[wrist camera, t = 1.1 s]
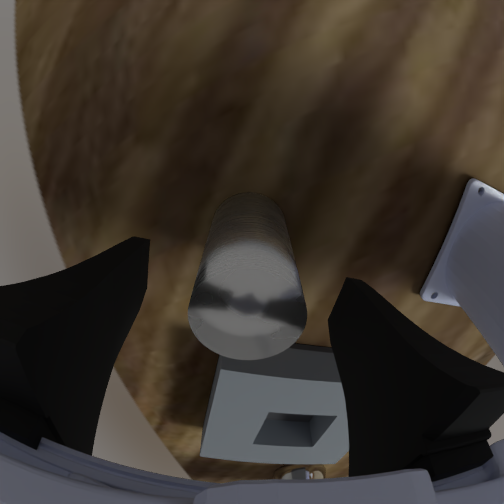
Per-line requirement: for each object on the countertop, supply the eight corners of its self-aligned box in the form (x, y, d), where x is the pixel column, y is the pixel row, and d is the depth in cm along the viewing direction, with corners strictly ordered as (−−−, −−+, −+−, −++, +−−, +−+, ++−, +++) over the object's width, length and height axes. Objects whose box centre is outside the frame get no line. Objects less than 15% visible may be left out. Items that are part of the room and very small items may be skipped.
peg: (293, 201, 15) (323, 281, 9) (275, 265, 17) (287, 366, 10) (219, 185, 15) (195, 257, 8) (207, 252, 16) (183, 349, 10)
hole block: (393, 353, 20) (407, 384, 17) (330, 437, 25) (335, 463, 23) (224, 332, 19) (220, 369, 16) (202, 427, 24) (199, 456, 21)
